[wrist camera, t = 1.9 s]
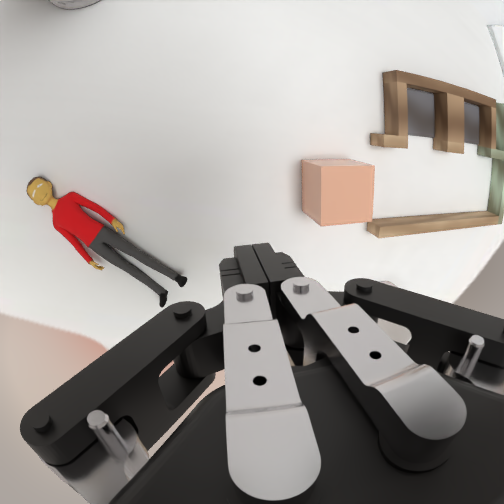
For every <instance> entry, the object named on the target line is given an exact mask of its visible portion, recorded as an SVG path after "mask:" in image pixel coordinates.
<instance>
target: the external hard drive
mask: <svg viewBox="0 0 504 504" xmlns="http://www.w3.org/2000/svg"><path fill="white" fill-rule="evenodd" d="M487 27H488V30H489V32H490V35H491V38H492V40H493V43H494V46H495V49H496V52H497V55H498V58H499V62H500V65H501V68H502V72H503V75H504V26H502V25H489V26H487Z"/></svg>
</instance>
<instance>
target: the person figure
mask: <svg viewBox="0 0 504 504" xmlns="http://www.w3.org/2000/svg"><path fill="white" fill-rule="evenodd" d="M51 188H52V184H51V183H50V182H49V181H46V180H45V179H44V178H42V177H35V178H33V179H32V180H31V181H30V182H29V183H28V186H27V194H28V196H29V197H30V198H31V199H32V200H33V201H34V202H35V203H36V204H37V205H42V206H43V205H46V204H47V205H49V206H50V207H51V208H52V213H53V226H54V228H55V229H56V230H57V231H58V232H60V233H61V234H62V235H63V236H64V237H65V238H66V239H67V240H68V241H69V242H70V243H71V244H72V245H73V246H74V247H75V249H76V250H77V251H78V252H79V254H80V255H81V256H82V257H83V258H84V259H85V260H86V261H87V262H88V264H91V265H92V266H93V267H94V268H96V269H99V270H102V269H104V267H103V266H102V267H101V266H97V265H99V264H97V263H95V262H94V261H93V259H92V258H91V257H90V255H89V254H88V253H87V252H86V250H85V249H84V248H83V246H82V245H81V243H80V242H79V241H78V240H77V239H76V237H78V238H79V239H80V240H82V241H83V242H84V244H85V245H86V246H87V247H89V248H91V249H92V250H93V251H94V252H96V253H97V254H98V255H100V256H101V257H103V258H104V259H106V260H107V261H109V262H110V263H112V264H113V265H115V266H117V267H119V268H120V269H122V270H124V271H126V272H127V273H129V274H130V275H132V276H133V277H135V278H136V279H138V280H139V281H141V282H142V283H144V284H145V285H147V286H148V287H149V288H151V289H152V290H153V291H154V292H156V293H157V294H158V295H159V296H160V307H164V305H165V304H166V301H167V294H168V291H167V290H165V289H164V288H163V287H161V286H160V285H159V284H157V283H156V282H155V281H154V280H152V279H151V278H150V277H148V276H147V275H146V274H144V273H143V272H142V271H140V270H139V269H138V268H136V267H135V266H133V265H132V264H130V263H128V262H126V261H125V260H124V259H123V258H122V257H121V256H120V255H118V254H117V253H116V252H115V251H114V250H113V249H112V248H111V247H109V246H108V245H111V246H113V247H114V248H116V249H118V250H120V251H122V252H124V253H126V254H128V255H130V256H132V257H134V258H135V259H137V260H139V261H140V262H142V263H143V264H145V265H147V266H149V267H150V268H152V269H154V270H156V271H158V272H160V273H162V274H164V275H166V276H168V277H169V278H171V279H172V280H175V281H176V282H178V284H179V286H180V287H183V286H184V285H185V284H186V282H187V277H184V276H181V275H179V274H178V273H176V272H174V271H172V270H171V269H169V268H167V267H166V266H164V265H163V264H161V263H159V262H158V261H156V260H155V259H153V258H152V257H150V256H149V255H147V254H145V253H144V252H142V251H140V250H139V249H137V248H136V247H134V246H133V245H132V244H130V243H129V242H128V241H126V240H125V239H124V238H122V237H121V236H120V235H118V234H117V233H115V232H114V231H112V230H111V229H109V228H107V227H106V226H104V225H103V224H101V223H99V222H97V221H95V220H94V219H92V218H90V217H89V216H88V215H87V214H86V213H85V212H84V211H82V209H81V208H80V206H79V205H81V206H84V207H86V208H88V209H90V210H93V211H95V212H96V213H98V214H100V215H101V216H102V217H103V218H105V219H106V220H107V221H108V222H109V223H110V224H111V225H112V226H113V227H114V228H115V230H116V232H118V230H117V228H119V229H121V231H122V232H123V234H125V232H124V228H123V225H122V224H121V223H120V222H118V221H117V219H116V218H114V217H113V216H112V215H111V214H109V213H108V212H107V211H106V210H105V209H103V208H102V207H100V206H99V205H98V204H96V203H94V202H92V201H90V200H88V199H86V198H84V197H83V196H81V195H79V194H77V193H75V192H70V193H68V194H67V195H65V196H64V197H62V198H60V199H55V198H54V197H53V196H52V189H51ZM78 204H79V205H78ZM116 227H117V228H116ZM74 235H75V236H76V237H75V236H74ZM107 244H108V245H107Z"/></svg>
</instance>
